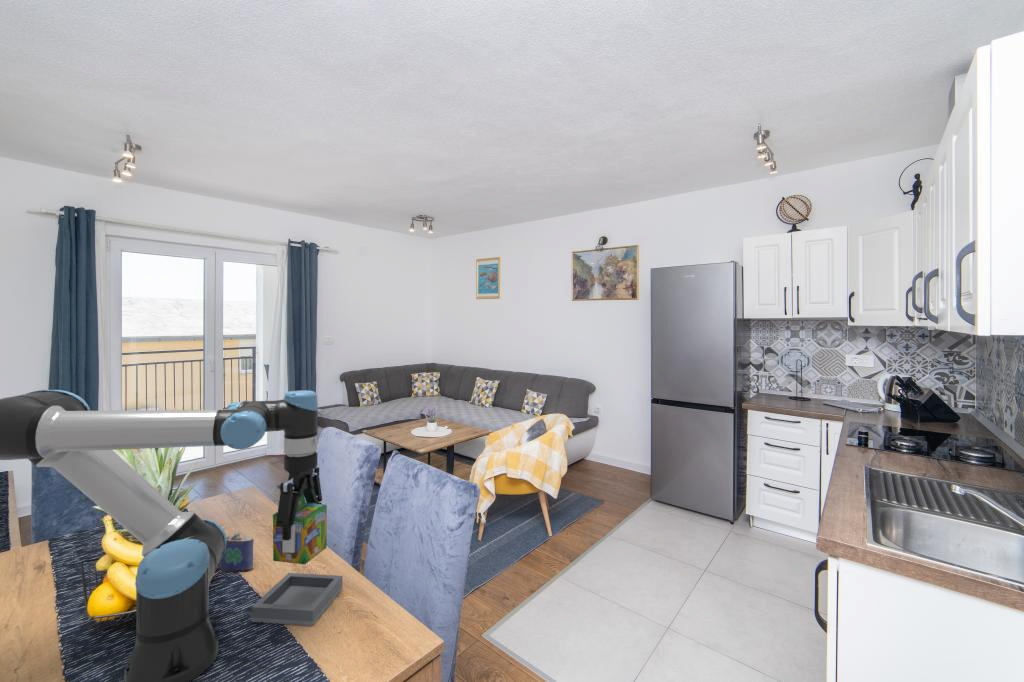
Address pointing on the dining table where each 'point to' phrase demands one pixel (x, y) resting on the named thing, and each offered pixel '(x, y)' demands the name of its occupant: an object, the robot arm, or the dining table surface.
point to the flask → (238, 554)
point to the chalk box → (303, 533)
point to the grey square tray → (297, 599)
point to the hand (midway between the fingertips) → (300, 541)
